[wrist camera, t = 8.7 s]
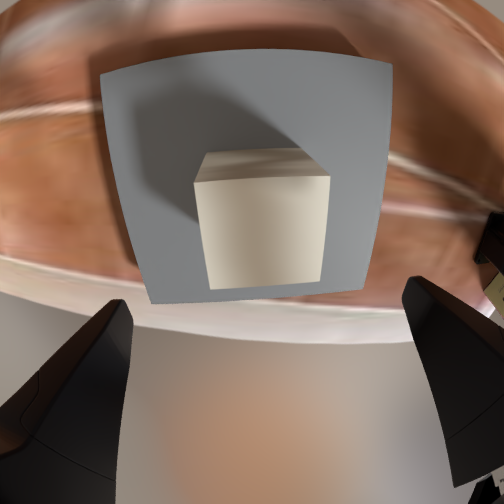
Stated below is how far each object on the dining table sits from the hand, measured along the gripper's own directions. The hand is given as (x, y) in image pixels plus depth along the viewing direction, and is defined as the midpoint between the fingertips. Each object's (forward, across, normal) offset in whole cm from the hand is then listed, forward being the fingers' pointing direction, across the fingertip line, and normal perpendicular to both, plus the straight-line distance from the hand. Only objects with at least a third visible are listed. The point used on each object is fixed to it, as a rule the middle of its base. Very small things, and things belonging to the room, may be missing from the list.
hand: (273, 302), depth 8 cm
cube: (+9, 0, 0) cm, 9 cm away
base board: (+12, 0, 0) cm, 12 cm away
